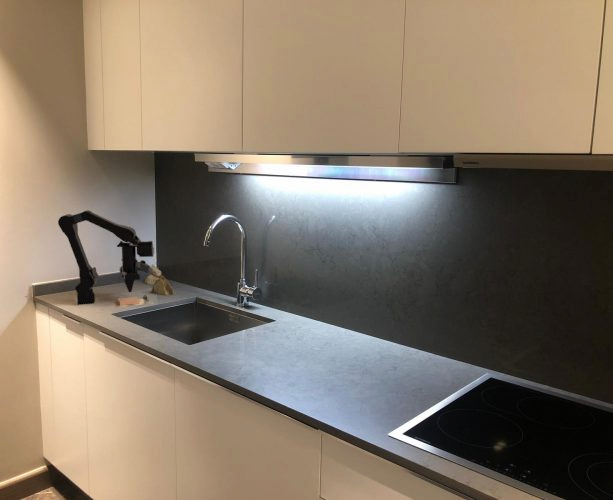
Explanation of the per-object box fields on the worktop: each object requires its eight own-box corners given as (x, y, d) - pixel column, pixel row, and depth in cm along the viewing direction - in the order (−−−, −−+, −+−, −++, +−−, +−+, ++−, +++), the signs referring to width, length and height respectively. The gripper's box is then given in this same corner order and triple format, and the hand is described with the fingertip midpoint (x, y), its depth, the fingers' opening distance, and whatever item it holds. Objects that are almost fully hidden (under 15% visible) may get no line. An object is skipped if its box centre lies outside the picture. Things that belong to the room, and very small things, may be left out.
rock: (144, 289, 258) (152, 290, 250) (154, 273, 260) (162, 274, 252) (163, 300, 263) (171, 302, 255) (172, 285, 266) (181, 286, 258)
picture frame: (118, 302, 241) (119, 305, 235) (117, 298, 240) (119, 302, 235) (137, 300, 244) (139, 303, 238) (136, 296, 244) (139, 300, 238)
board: (114, 308, 233) (114, 306, 233) (111, 302, 242) (111, 301, 242) (152, 304, 240) (152, 303, 240) (148, 299, 249) (148, 298, 248)
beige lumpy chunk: (155, 285, 276) (154, 265, 274) (143, 283, 280) (142, 264, 278) (162, 283, 281) (162, 264, 279) (151, 281, 284) (150, 262, 283)
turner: (145, 303, 238) (145, 301, 238) (141, 297, 249) (141, 295, 248) (152, 303, 240) (152, 300, 239) (148, 297, 250) (148, 294, 250)
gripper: (151, 259, 234) (152, 295, 236) (144, 252, 250) (145, 285, 253) (124, 261, 229) (125, 297, 231) (118, 253, 245) (120, 287, 248)
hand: (130, 291), depth 241 cm, fingers closed
